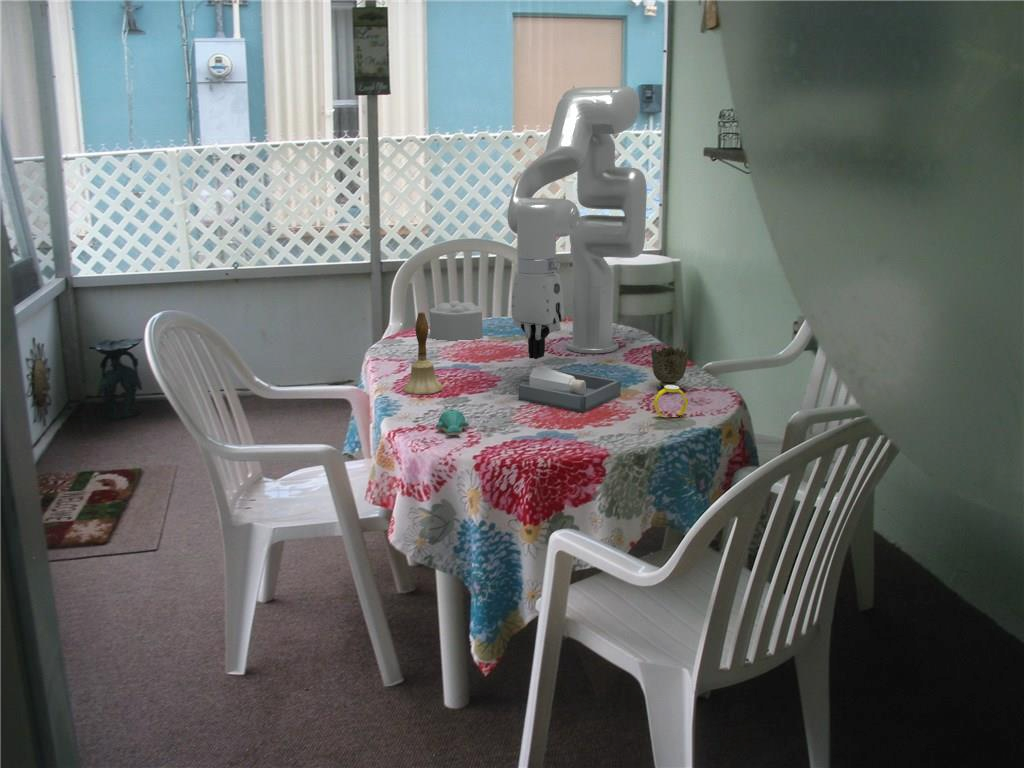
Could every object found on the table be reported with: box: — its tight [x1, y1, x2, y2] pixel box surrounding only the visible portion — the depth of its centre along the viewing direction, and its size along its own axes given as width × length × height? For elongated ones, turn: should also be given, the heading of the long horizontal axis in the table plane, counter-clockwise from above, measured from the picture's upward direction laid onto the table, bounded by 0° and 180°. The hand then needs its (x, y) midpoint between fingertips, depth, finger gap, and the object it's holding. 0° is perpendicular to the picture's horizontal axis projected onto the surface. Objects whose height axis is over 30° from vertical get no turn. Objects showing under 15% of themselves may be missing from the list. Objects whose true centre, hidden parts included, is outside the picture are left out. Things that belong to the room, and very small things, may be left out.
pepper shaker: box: [528, 365, 586, 394], centre depth 187 cm, size 5×5×11 cm
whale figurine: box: [435, 408, 470, 436], centre depth 165 cm, size 6×7×4 cm
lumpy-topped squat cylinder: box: [429, 300, 483, 342], centre depth 237 cm, size 10×13×9 cm
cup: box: [650, 345, 689, 389], centre depth 190 cm, size 8×7×8 cm
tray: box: [518, 369, 622, 414], centre depth 185 cm, size 14×15×3 cm
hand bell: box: [402, 311, 445, 395], centre depth 190 cm, size 8×8×16 cm
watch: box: [653, 385, 688, 418], centre depth 172 cm, size 6×3×6 cm, turn 95°
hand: (536, 357), depth 188 cm, fingers closed
